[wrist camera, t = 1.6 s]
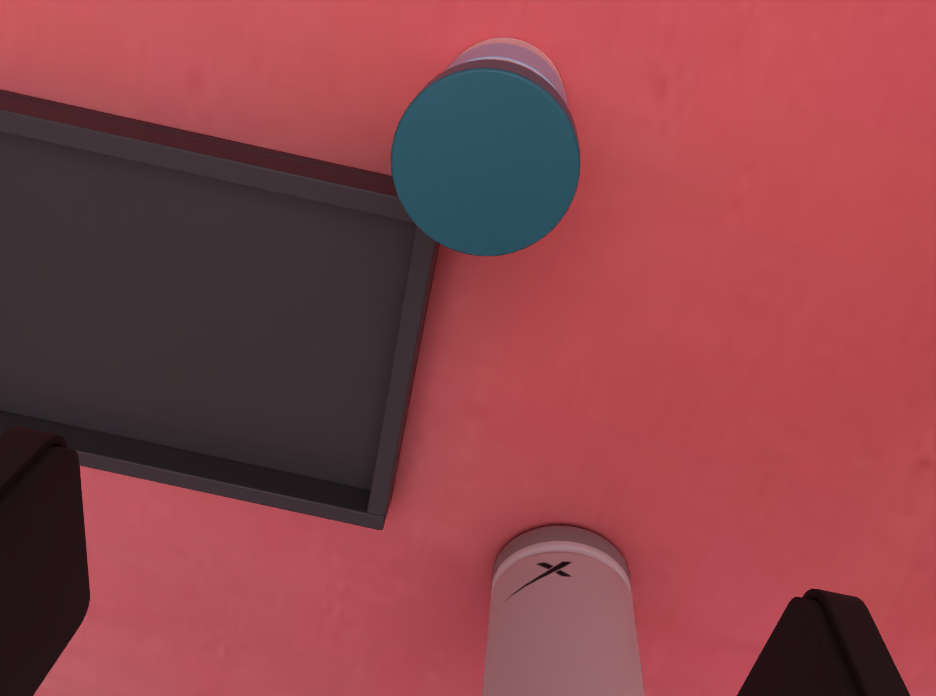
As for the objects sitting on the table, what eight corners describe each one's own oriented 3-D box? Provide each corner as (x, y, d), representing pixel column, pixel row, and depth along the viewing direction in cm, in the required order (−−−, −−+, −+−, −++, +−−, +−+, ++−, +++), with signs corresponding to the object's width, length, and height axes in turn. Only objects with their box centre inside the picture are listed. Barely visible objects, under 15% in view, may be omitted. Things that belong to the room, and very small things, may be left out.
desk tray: (-94, 68, 27) (-142, 77, 25) (450, 188, 27) (442, 206, 25) (-38, 406, 34) (-73, 433, 32) (391, 499, 34) (382, 531, 32)
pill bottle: (447, 16, 24) (405, 47, 17) (587, 47, 24) (604, 92, 17) (423, 156, 26) (378, 235, 19) (552, 185, 26) (553, 274, 19)
